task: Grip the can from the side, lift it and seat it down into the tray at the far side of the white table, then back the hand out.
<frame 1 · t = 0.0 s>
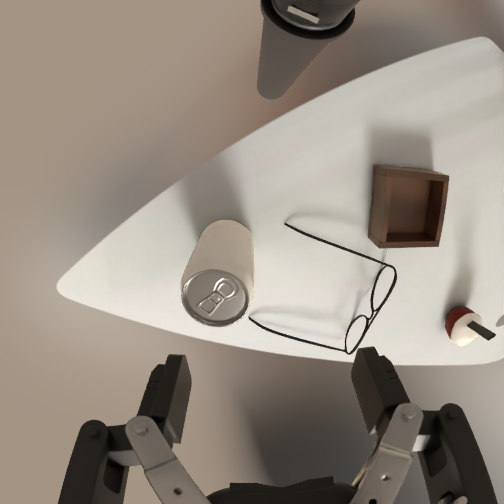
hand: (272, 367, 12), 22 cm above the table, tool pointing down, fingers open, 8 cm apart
can: (226, 243, 34), on the table
tray: (402, 202, 31), on the table
glasses: (318, 288, 36), on the table
cocoa: (454, 312, 39), on the table
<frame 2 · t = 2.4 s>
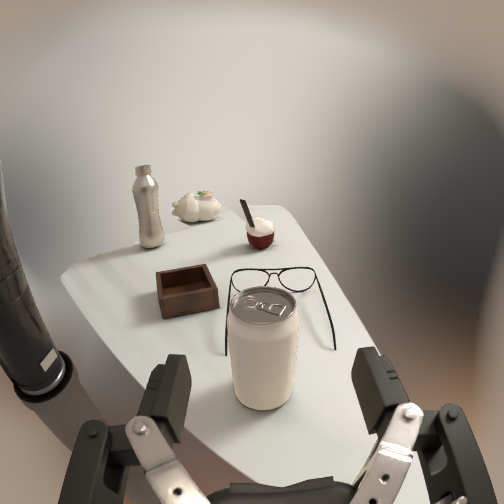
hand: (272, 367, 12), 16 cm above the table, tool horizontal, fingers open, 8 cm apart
can: (263, 390, 29), on the table
tray: (187, 298, 46), on the table
glasses: (277, 320, 41), on the table
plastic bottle: (153, 246, 68), on the table
cocoa: (258, 247, 66), on the table
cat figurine: (197, 221, 85), on the table
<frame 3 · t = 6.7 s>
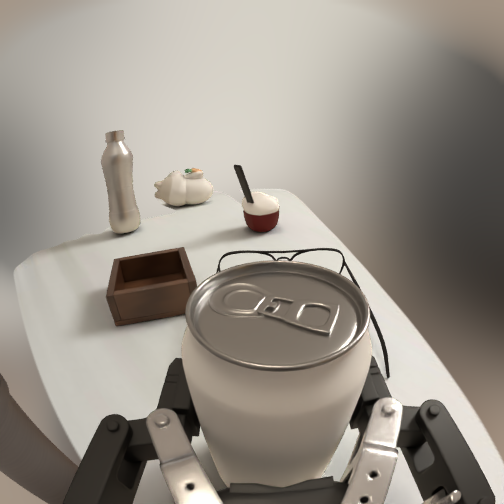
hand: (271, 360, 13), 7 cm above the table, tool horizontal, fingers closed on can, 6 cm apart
can: (271, 461, 13), on the table, touching gripper
tray: (155, 296, 31), on the table
glasses: (290, 330, 25), on the table
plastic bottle: (127, 232, 53), on the table
cocoa: (259, 230, 50), on the table
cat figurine: (185, 205, 70), on the table
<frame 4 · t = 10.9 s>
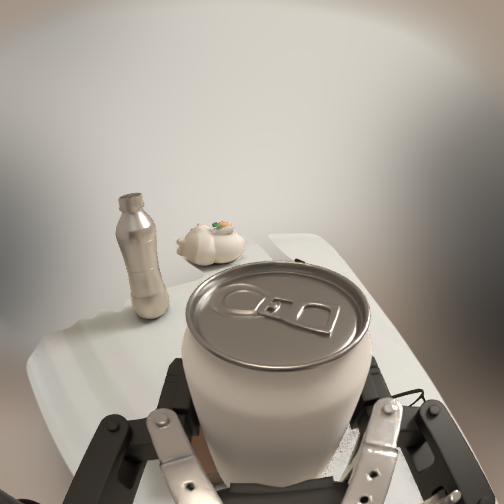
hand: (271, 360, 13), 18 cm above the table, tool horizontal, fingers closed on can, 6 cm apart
can: (271, 461, 13), point 11 cm above the table, touching gripper
tray: (224, 443, 24), on the table
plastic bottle: (153, 312, 46), on the table
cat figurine: (212, 262, 63), on the table
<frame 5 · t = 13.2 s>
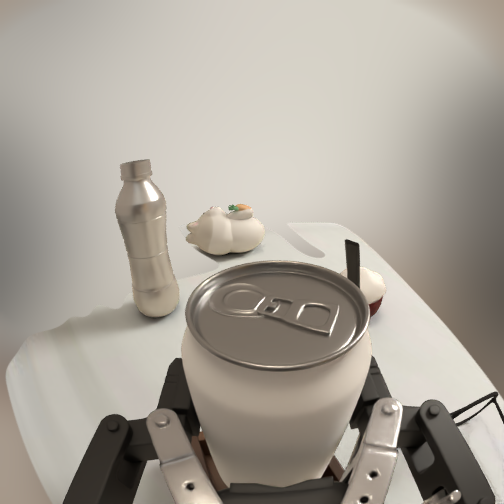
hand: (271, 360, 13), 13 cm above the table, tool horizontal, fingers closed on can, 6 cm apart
can: (271, 461, 13), point 5 cm above the table, touching gripper
tray: (266, 482, 16), on the table
glasses: (448, 499, 10), on the table
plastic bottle: (160, 309, 38), on the table
cocoa: (353, 315, 35), on the table
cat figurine: (227, 252, 55), on the table
when the fingers open (8 cm above the table, at t = 15.2 s): can stays where it is, resting on tray.
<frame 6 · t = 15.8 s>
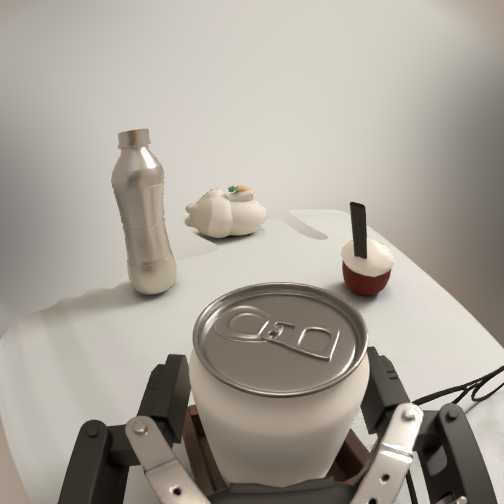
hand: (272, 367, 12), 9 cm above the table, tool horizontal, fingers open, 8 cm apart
can: (273, 467, 14), resting on tray
tray: (271, 469, 14), on the table
glasses: (480, 481, 8), on the table
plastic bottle: (156, 288, 36), on the table
cocoa: (360, 291, 33), on the table
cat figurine: (227, 235, 53), on the table
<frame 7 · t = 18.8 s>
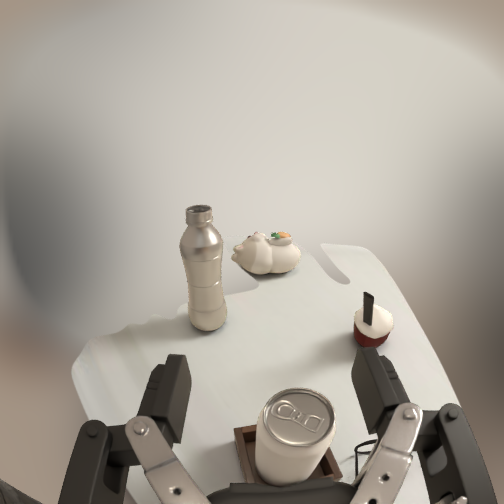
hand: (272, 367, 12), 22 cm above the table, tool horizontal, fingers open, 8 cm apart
can: (284, 464, 24), resting on tray
tray: (283, 465, 24), on the table
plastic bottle: (209, 323, 47), on the table
cocoa: (365, 342, 42), on the table
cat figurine: (266, 271, 63), on the table
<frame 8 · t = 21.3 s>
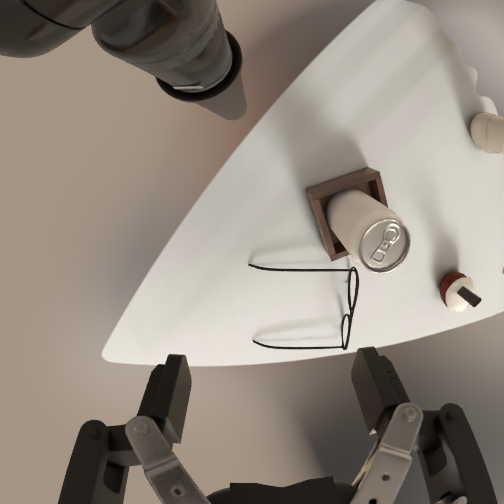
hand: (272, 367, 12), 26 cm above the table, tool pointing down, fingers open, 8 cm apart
can: (347, 210, 36), resting on tray
tray: (347, 209, 36), on the table
glasses: (300, 303, 42), on the table
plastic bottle: (478, 131, 30), on the table
cocoa: (447, 280, 41), on the table
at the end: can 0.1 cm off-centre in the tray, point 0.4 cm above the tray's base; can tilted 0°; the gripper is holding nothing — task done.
